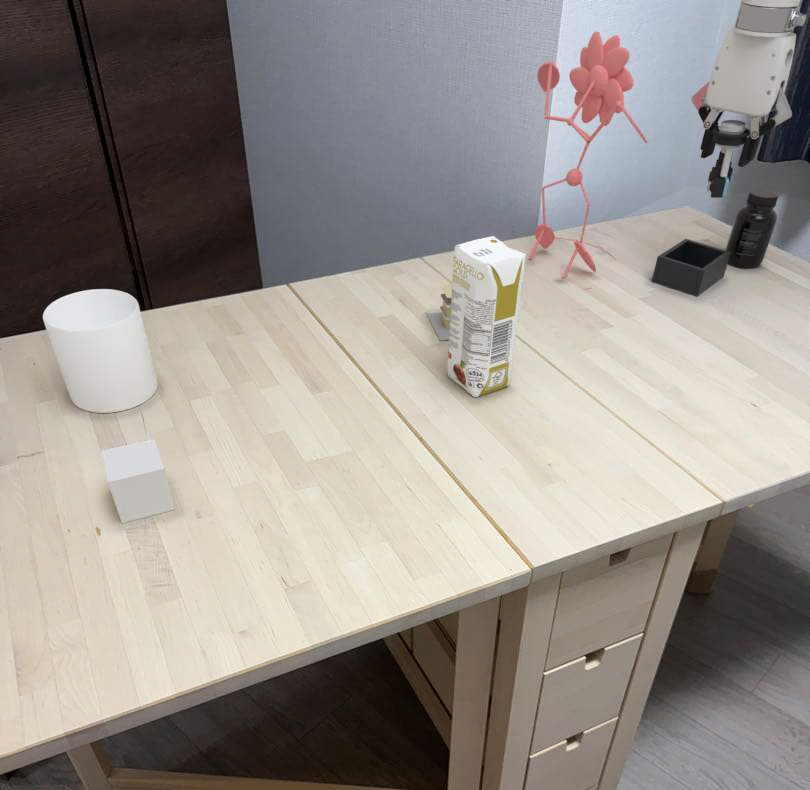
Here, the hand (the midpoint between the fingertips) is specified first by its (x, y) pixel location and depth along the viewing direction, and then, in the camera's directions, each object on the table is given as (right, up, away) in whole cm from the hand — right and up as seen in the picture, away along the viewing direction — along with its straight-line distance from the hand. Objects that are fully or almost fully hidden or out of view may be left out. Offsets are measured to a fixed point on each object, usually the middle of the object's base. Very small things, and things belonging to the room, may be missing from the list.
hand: (725, 159), depth 115 cm
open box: (0, -13, +16) cm, 21 cm away
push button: (0, -4, +3) cm, 5 cm away
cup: (-90, -38, -12) cm, 99 cm away
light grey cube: (-80, -55, -29) cm, 101 cm away
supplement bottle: (+12, -8, +22) cm, 26 cm away
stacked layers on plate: (-40, -25, +3) cm, 48 cm away
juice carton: (-39, -37, -9) cm, 55 cm away
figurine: (-19, -8, +21) cm, 29 cm away
